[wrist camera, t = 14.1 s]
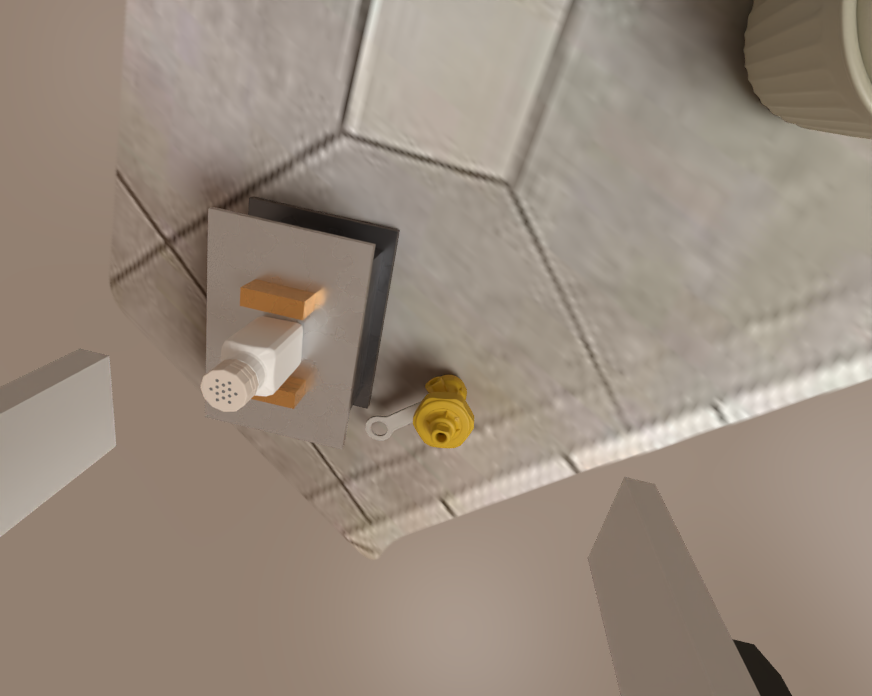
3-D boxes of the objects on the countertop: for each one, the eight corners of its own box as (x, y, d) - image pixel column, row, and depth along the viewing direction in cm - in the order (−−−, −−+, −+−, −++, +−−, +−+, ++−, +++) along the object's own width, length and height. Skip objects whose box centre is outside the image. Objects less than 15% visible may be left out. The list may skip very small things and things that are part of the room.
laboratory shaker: (254, 196, 45) (182, 210, 34) (399, 230, 44) (372, 254, 34) (245, 374, 52) (183, 430, 42) (369, 404, 52) (339, 467, 41)
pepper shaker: (258, 356, 41) (194, 411, 32) (259, 312, 39) (192, 358, 31) (303, 365, 41) (252, 423, 32) (306, 321, 39) (253, 370, 30)
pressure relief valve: (483, 396, 50) (481, 452, 41) (386, 438, 53) (365, 498, 44) (458, 353, 48) (451, 400, 39) (360, 398, 52) (332, 452, 42)
